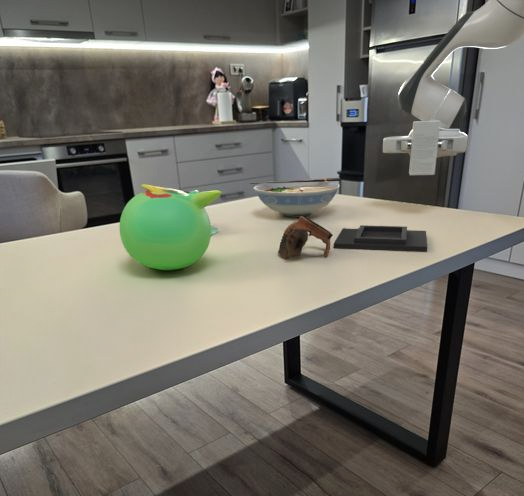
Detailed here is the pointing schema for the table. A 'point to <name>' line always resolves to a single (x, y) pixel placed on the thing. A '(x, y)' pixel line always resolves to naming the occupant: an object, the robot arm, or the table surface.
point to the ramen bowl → (297, 195)
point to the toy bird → (167, 227)
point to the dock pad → (382, 238)
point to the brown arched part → (302, 237)
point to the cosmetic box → (424, 147)
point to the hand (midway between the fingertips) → (424, 146)
